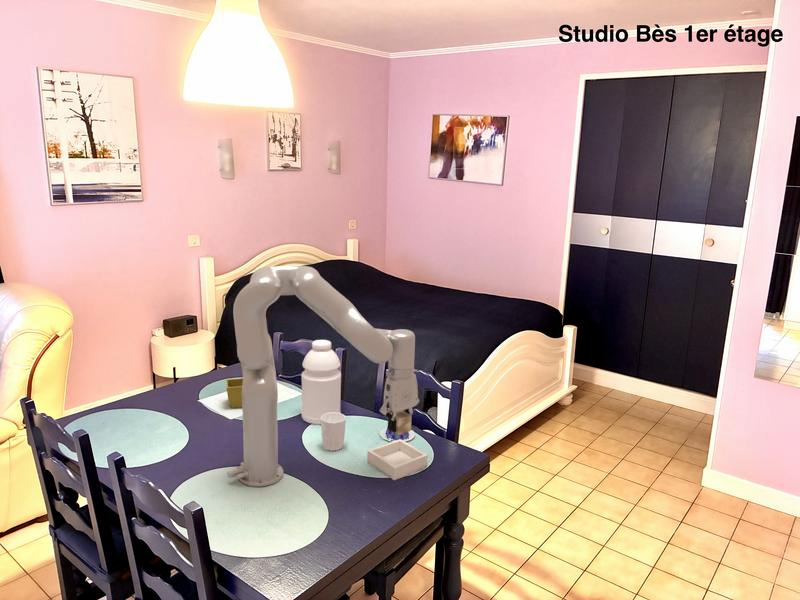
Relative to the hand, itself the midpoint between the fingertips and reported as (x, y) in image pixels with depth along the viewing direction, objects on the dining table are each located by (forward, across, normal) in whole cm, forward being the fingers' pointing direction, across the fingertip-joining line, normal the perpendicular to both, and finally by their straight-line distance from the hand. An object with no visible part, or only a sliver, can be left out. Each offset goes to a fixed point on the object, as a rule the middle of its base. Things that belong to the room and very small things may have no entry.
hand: (399, 427), depth 179 cm
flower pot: (+12, -19, +69) cm, 72 cm away
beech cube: (+1, 0, 0) cm, 1 cm away
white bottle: (+12, 0, +43) cm, 44 cm away
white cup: (+12, -9, +22) cm, 27 cm away
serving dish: (+12, 0, 0) cm, 12 cm away
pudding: (+13, +13, +16) cm, 24 cm away
